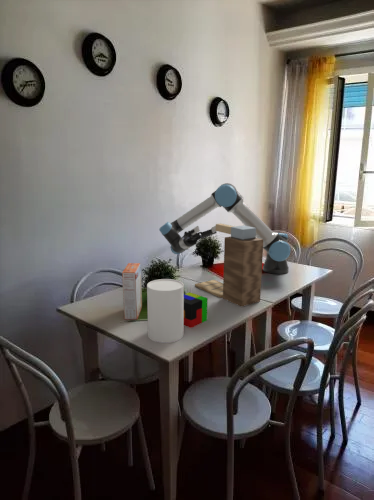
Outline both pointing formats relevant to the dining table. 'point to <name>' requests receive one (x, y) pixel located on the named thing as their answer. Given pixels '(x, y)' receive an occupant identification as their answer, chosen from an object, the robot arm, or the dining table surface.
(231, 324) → the dining table surface
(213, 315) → the dining table surface
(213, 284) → the board
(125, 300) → the cracker box
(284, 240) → the robot arm
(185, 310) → the puzzle toy
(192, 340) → the dining table surface
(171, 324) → the canister
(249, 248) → the wooden block
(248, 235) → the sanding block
